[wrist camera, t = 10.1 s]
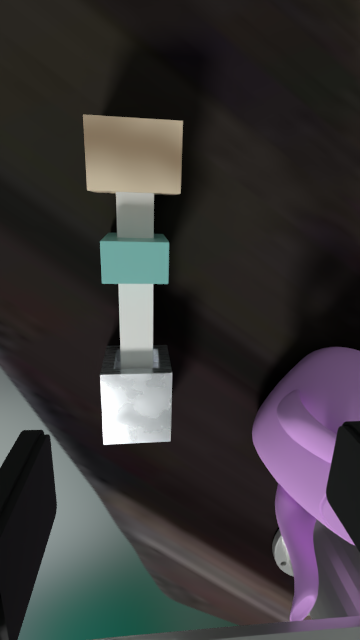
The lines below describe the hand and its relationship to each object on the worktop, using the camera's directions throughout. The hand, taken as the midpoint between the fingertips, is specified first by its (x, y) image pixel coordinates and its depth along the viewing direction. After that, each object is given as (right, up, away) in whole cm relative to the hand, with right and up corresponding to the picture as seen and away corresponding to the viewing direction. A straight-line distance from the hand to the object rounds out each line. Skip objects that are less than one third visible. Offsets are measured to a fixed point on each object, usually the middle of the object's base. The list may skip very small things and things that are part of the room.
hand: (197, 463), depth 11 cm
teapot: (+16, -6, +29) cm, 33 cm away
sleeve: (-5, -1, +24) cm, 25 cm away
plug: (-5, +10, +20) cm, 23 cm away
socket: (-4, +18, +18) cm, 25 cm away
